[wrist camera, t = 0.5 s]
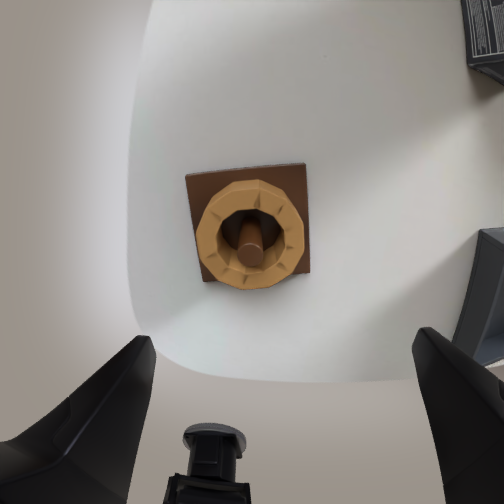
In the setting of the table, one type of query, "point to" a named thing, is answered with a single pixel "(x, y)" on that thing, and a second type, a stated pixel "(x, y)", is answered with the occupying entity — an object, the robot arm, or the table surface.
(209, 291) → the table surface
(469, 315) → the tray
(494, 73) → the small box
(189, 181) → the wooden peg board
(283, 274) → the tape
